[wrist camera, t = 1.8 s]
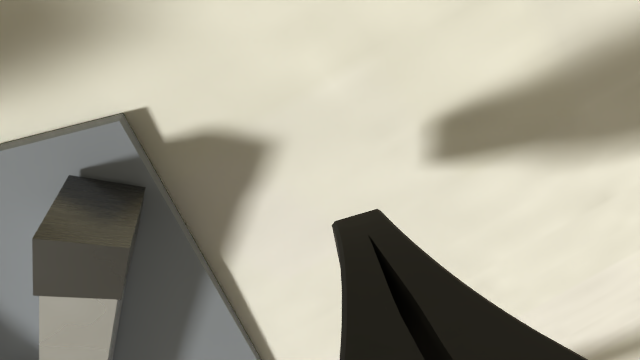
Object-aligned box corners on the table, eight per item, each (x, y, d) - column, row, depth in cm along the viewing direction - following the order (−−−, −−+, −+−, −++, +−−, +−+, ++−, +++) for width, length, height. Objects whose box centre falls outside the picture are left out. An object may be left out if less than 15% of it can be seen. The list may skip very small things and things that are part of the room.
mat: (265, 367, 20) (266, 377, 20) (36, 442, 19) (32, 453, 18) (122, 113, 10) (119, 120, 10) (-368, 236, 9) (-394, 251, 9)
